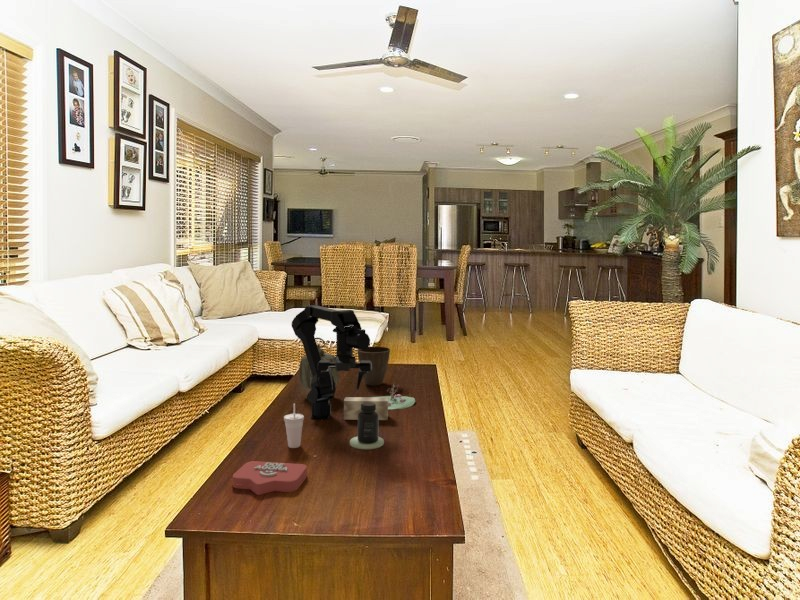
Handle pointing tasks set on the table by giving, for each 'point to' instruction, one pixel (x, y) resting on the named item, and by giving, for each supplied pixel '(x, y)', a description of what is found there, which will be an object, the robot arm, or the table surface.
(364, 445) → the green pad
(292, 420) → the smoothie
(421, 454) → the table surface
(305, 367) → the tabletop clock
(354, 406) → the block
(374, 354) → the plant pot
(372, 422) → the supplement bottle
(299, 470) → the plaque
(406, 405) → the decorated green tray
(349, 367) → the robot arm
